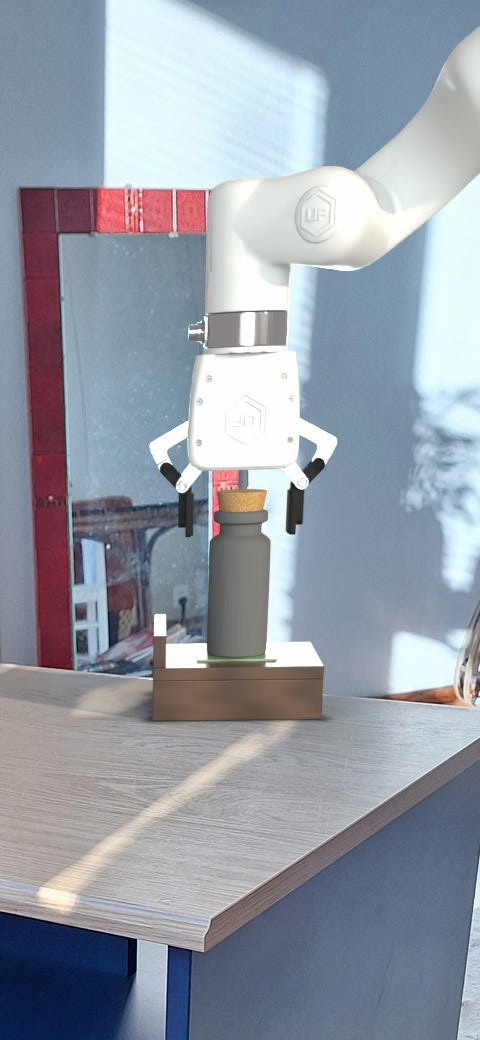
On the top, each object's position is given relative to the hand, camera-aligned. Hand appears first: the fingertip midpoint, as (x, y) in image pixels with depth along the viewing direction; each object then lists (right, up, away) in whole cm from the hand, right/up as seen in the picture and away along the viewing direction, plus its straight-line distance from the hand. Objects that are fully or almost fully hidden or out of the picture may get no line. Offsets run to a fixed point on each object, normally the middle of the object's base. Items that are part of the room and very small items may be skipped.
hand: (239, 534), depth 140 cm
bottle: (0, -10, +5) cm, 11 cm away
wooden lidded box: (0, -15, +7) cm, 16 cm away
